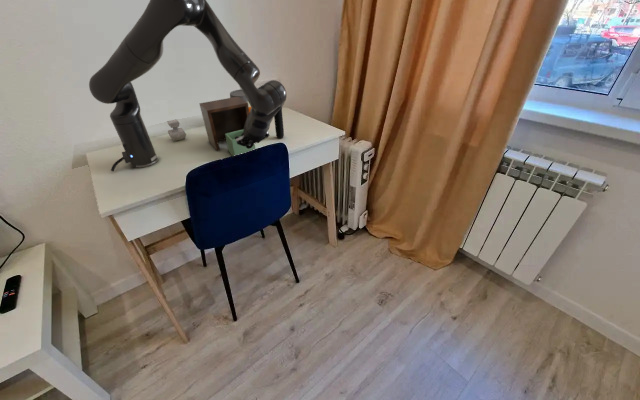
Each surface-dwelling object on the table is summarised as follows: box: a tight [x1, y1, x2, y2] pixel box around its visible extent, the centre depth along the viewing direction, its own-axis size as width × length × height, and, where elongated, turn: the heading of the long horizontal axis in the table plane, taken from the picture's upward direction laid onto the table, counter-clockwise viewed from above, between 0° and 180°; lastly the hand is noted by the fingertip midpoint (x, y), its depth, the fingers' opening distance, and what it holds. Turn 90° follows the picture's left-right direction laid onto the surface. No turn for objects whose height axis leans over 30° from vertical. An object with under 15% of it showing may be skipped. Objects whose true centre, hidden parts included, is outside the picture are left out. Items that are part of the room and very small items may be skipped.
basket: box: [225, 129, 257, 157], centre depth 115 cm, size 9×8×8 cm
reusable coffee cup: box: [229, 88, 251, 113], centre depth 140 cm, size 13×13×15 cm
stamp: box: [166, 119, 187, 142], centre depth 126 cm, size 9×7×8 cm
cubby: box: [199, 97, 249, 152], centre depth 121 cm, size 17×11×17 cm, turn 124°
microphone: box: [273, 106, 285, 140], centre depth 123 cm, size 7×7×20 cm
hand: (248, 146), depth 107 cm, fingers closed
